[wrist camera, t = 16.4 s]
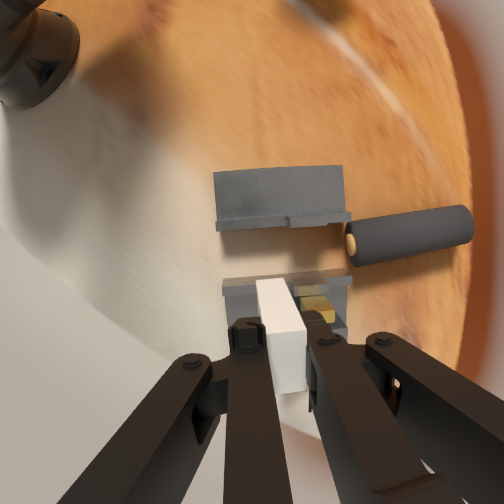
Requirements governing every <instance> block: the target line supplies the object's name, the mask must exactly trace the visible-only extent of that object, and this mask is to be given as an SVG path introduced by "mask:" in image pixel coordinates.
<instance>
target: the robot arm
mask: <svg viewBox="0 0 504 504" xmlns="http://www.w3.org/2000/svg"><path fill="white" fill-rule="evenodd" d="M44 1H46V0H0V102H1V103H2V104H4V105H6V106H8V107H12V108H15V109H27V108H30V107H33V106H35V105H37V104H38V103H40V102H41V101H43V100H44V99H46V98H47V97H48V96H49V95H50V94H51V93H52V92H53V91H54V90H55V89H56V88H57V87H58V86H59V85H60V83H61V82H62V81H63V79H64V78H65V76H66V75H67V73H68V72H69V70H70V68H71V66H72V64H73V62H74V60H75V57H76V54H77V51H78V47H79V31H78V28H77V26H76V25H75V23H74V22H72V21H71V20H70V19H69V18H68V17H67V16H65V15H64V14H61V13H58V12H52V11H49V10H44V9H39V8H37V7H38V6H40V5H41V4H42V3H43V2H44ZM256 290H257V302H258V315H259V316H258V317H246V318H238V319H237V320H236V321H235V322H234V324H233V325H231V326H230V327H229V328H228V337H229V345H230V355H229V356H227V357H226V358H224V359H221V360H218V361H214V362H211V360H210V359H209V357H207V356H206V355H203V354H194V353H191V354H186V355H184V356H181V357H179V358H178V359H176V360H175V361H174V362H173V363H172V365H171V366H170V367H169V368H168V370H167V371H166V372H165V373H164V375H163V376H162V377H161V378H160V379H159V381H158V382H157V383H156V384H155V386H154V387H153V388H152V389H151V390H150V392H149V393H148V394H147V395H146V397H145V398H144V399H143V400H142V401H141V403H140V404H139V405H138V406H137V407H136V409H135V410H134V411H133V412H132V414H131V415H130V416H129V417H128V419H127V420H126V421H125V422H124V423H123V424H122V426H121V427H120V428H119V429H118V431H117V432H116V433H115V434H114V435H113V437H112V438H111V439H110V440H109V442H108V443H107V444H106V445H105V446H104V447H103V449H102V450H101V451H100V452H99V453H98V455H97V456H96V457H95V458H94V460H93V461H92V462H91V463H90V464H89V465H88V467H87V468H86V469H85V470H84V472H83V473H82V474H81V475H80V476H79V478H78V479H77V480H76V481H75V482H74V483H73V485H72V486H71V487H70V488H69V490H68V491H67V492H66V493H65V494H64V495H63V497H62V498H61V499H60V500H59V501H58V503H57V504H181V502H182V500H183V498H184V496H185V494H186V492H187V490H188V488H189V486H190V484H191V482H192V479H193V477H194V475H195V473H196V471H197V469H198V467H199V465H200V463H201V460H202V458H203V456H204V454H205V452H206V450H207V448H208V446H209V443H210V441H211V439H212V437H213V435H214V433H215V430H216V428H217V426H218V424H219V421H220V417H221V416H220V415H221V414H225V413H227V421H226V443H225V468H224V494H223V504H293V500H292V494H291V488H290V482H289V476H288V470H287V465H286V459H285V452H284V446H283V440H282V434H281V428H280V422H279V416H278V410H277V404H276V398H275V394H284V393H292V392H300V391H307V382H308V385H309V412H311V411H312V410H313V413H314V416H315V419H316V423H317V426H318V429H319V433H320V436H321V439H322V442H323V446H324V449H325V452H326V455H327V459H328V462H329V466H330V469H331V472H332V475H333V479H334V482H335V486H336V489H337V492H338V496H339V499H340V503H341V504H465V502H464V501H463V499H464V500H465V501H467V502H468V503H469V504H504V401H503V400H501V399H500V398H498V397H496V396H495V395H493V394H491V393H490V392H488V391H487V390H485V389H483V388H482V387H480V386H478V385H477V384H475V383H474V382H472V381H470V380H469V379H467V378H465V377H464V376H462V375H461V374H459V373H457V372H456V371H454V370H452V369H451V368H449V367H448V366H446V365H444V364H443V363H441V362H439V361H438V360H436V359H435V358H433V357H431V356H430V355H428V354H426V353H425V352H423V351H421V350H420V349H418V348H417V347H415V346H413V345H412V344H410V343H408V342H407V341H405V340H403V339H402V338H400V337H399V336H397V335H395V334H392V333H387V332H378V333H373V334H371V335H369V336H368V337H367V338H366V345H354V344H348V343H347V341H346V340H345V338H344V337H343V336H342V335H340V334H337V333H333V332H332V330H331V329H330V327H329V325H328V324H327V322H326V321H325V319H324V317H323V316H322V314H321V313H319V312H317V311H315V310H309V311H300V312H299V311H298V309H297V307H296V305H295V303H294V300H293V298H292V296H291V294H290V292H289V290H288V287H287V285H286V283H285V281H284V279H283V278H275V279H263V280H256ZM395 379H397V380H398V381H399V383H400V387H399V388H398V387H396V386H395V385H394V382H395ZM421 460H423V462H425V463H426V464H427V465H428V466H429V467H430V468H431V469H432V470H433V471H434V472H435V473H434V474H431V473H429V472H428V471H427V469H426V468H425V466H424V465H423V463H422V461H421ZM461 497H462V498H463V499H462V498H461Z"/></svg>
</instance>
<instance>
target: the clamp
mask: <svg viewBox="0 0 504 504" xmlns="http://www.w3.org/2000/svg"><path fill="white" fill-rule="evenodd" d="M213 175H214V188H215V200H216V212H217V221H216V232H217V231H229V230H241V229H254V228H267V227H280V226H289V227H290V228H299V227H313V226H327V223H339V222H352V220H351V212H347V211H345V197H344V181H343V167H342V165H324V166H296V167H276V168H260V169H247V170H234V171H223V172H213ZM275 278H283V279H284V281H285V283H286V285H287V287H288V290H289V292H290V294H291V296H292V298H293V300H294V303H295V305H296V307H297V309H298V311H299V312H300V311H301V304H300V297H309V296H319V295H324V296H325V297H326V299H327V300H328V301H329V303H330V304H331V305H332V307H333V308H334V309H335V322H333V323H327V324H328V325H329V327H330V329H331V330H332V332H333V333H337V334H340V335H342V336H343V337H344V338H345V340H346V341H347V334H348V327H347V326H346V306H347V285H351V284H352V275H351V274H350V273H349V272H347V271H346V270H345V269H334V270H324V271H313V272H302V273H290V274H279V275H267V276H254V277H242V278H228V279H224V280H223V284H222V293H223V296H225V304H226V313H227V322H228V328H229V327H230V326H231V325H233V324H234V322H235V321H236V320H237V319H238V318H246V317H258V316H259V315H258V302H257V290H256V280H263V279H275Z"/></svg>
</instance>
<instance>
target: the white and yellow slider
mask: <svg viewBox="0 0 504 504" xmlns="http://www.w3.org/2000/svg"><path fill="white" fill-rule="evenodd" d="M300 304H301V311H309V310H315V311H317V312H319V313H321V314H322V316H323V317H324V319H325V321H326V322H327V323H333V322H335V309H334V308H333V307H332V305H331V304H330V303H329V301H328V300H327V299H326V297H325V296H324V295H319V296H309V297H300Z"/></svg>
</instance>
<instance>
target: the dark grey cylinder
mask: <svg viewBox="0 0 504 504" xmlns="http://www.w3.org/2000/svg"><path fill="white" fill-rule="evenodd" d="M473 233H474V222H473V218H472V215H471V213H470V211H469V210H468V209H467V208H466V207H465V206H463V205H454V206H447V207H441V208H434V209H427V210H421V211H414V212H408V213H401V214H395V215H388V216H382V217H375V218H369V219H363V220H356V221H352V222H348V223H347V224H346V228H345V237H346V248H347V252H348V255H349V258H350V260H351V262H352V264H353V265H354V266H355V267H360V266H365V265H370V264H374V263H379V262H384V261H389V260H394V259H399V258H403V257H408V256H413V255H417V254H422V253H427V252H431V251H436V250H440V249H444V248H449V247H453V246H458V245H462V244H466V243H468V242H470V240H471V239H472V237H473Z"/></svg>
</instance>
